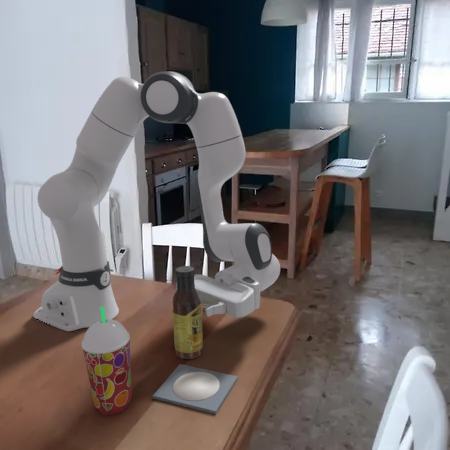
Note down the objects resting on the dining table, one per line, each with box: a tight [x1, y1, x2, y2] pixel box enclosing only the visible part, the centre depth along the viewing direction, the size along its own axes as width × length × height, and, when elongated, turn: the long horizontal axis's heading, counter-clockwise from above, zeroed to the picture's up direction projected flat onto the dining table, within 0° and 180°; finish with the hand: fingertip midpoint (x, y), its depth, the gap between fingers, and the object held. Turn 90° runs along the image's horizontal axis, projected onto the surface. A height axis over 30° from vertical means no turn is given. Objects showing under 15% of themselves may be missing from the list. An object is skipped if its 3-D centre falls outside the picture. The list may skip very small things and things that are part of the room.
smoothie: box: [80, 306, 132, 416], centre depth 80 cm, size 8×8×20 cm
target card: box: [152, 364, 239, 415], centre depth 86 cm, size 13×11×1 cm
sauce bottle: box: [172, 265, 204, 360], centre depth 96 cm, size 7×6×20 cm
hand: (189, 306), depth 97 cm, fingers open, 8 cm apart
